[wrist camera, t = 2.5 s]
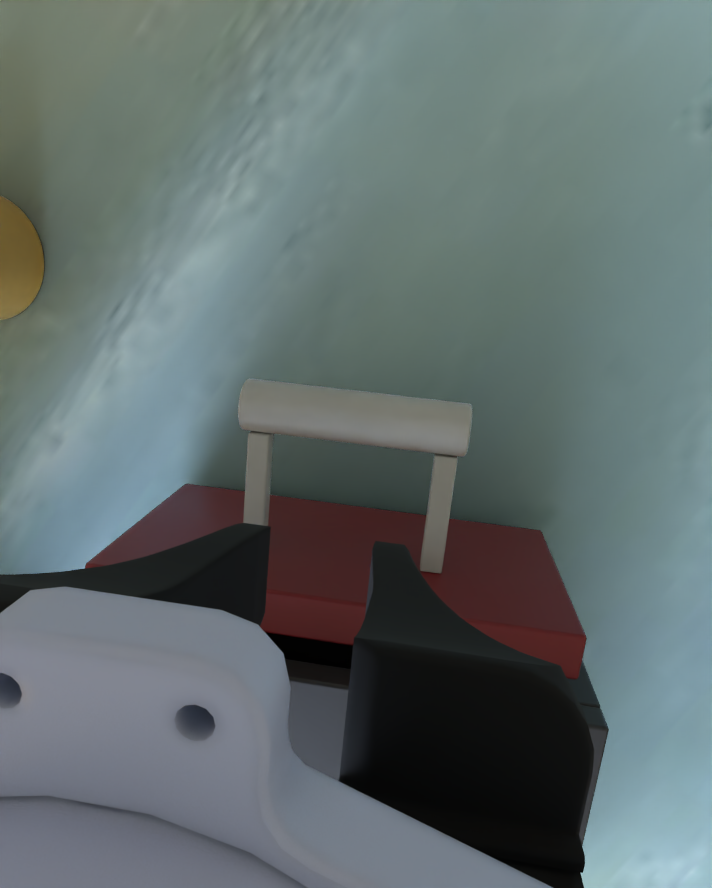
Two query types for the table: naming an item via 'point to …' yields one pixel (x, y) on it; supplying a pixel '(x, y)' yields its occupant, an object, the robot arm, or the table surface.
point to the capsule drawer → (368, 531)
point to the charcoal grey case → (324, 712)
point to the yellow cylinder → (18, 260)
